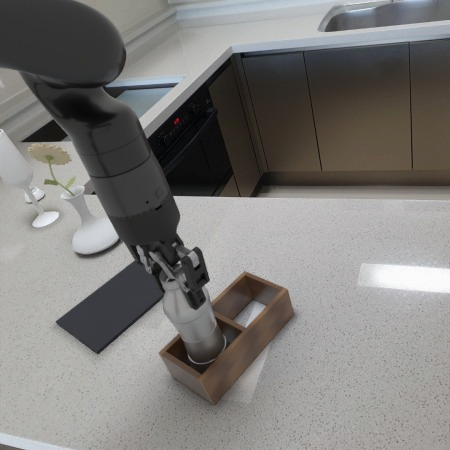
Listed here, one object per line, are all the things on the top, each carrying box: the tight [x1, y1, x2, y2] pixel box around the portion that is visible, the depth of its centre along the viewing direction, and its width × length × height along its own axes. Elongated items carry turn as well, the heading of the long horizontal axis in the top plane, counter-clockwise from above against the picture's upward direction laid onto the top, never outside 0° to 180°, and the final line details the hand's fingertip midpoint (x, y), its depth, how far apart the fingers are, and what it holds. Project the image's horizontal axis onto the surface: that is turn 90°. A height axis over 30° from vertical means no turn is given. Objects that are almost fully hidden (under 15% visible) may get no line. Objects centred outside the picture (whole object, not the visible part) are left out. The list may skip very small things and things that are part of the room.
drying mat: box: [55, 260, 165, 355], centre depth 87 cm, size 20×14×1 cm
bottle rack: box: [158, 270, 295, 406], centre depth 73 cm, size 19×10×6 cm, turn 143°
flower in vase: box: [26, 142, 120, 255], centre depth 97 cm, size 13×11×25 cm
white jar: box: [24, 186, 45, 203], centre depth 126 cm, size 5×3×5 cm
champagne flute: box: [0, 128, 60, 228], centre depth 110 cm, size 7×7×24 cm
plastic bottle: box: [159, 262, 231, 374], centre depth 66 cm, size 6×7×20 cm
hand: (183, 296), depth 62 cm, fingers closed on plastic bottle, 6 cm apart
